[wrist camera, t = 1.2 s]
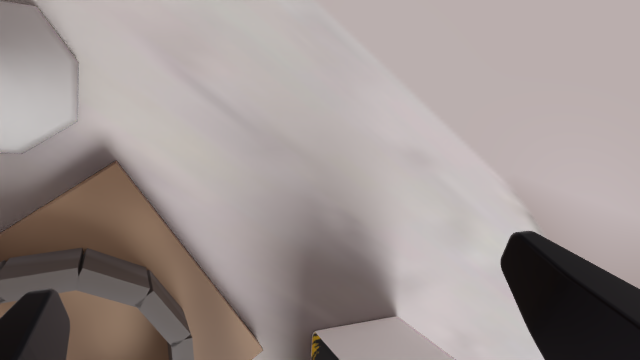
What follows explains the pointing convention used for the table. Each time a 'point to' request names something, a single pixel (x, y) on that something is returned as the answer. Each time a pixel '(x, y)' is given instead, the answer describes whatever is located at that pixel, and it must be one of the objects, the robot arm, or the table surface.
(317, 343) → the medicine bottle
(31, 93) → the flask
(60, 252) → the collar stand
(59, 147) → the table surface
